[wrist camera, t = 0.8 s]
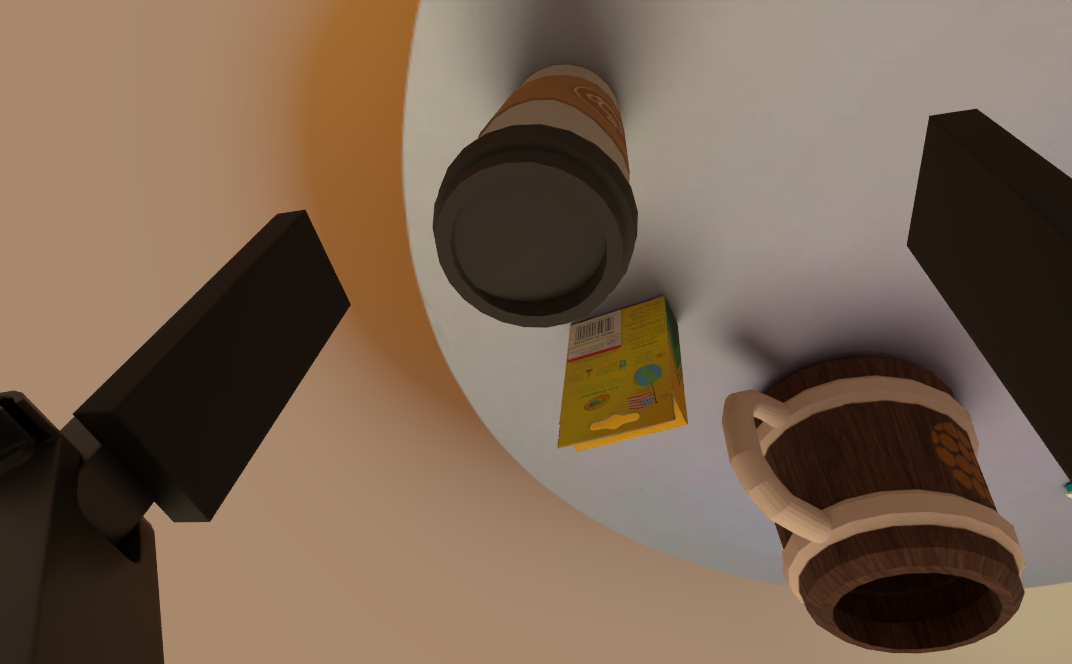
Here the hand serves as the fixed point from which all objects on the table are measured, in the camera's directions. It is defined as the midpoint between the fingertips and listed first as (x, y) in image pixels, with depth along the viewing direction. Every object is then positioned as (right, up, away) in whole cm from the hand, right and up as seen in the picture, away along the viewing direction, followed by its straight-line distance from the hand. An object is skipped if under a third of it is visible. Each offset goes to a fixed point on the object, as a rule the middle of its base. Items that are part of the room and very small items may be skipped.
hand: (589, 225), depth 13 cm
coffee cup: (+1, +10, +22) cm, 24 cm away
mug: (+20, -8, +33) cm, 39 cm away
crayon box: (+5, -2, +30) cm, 31 cm away
